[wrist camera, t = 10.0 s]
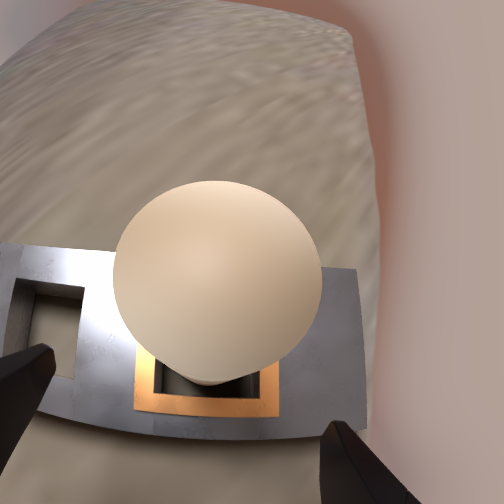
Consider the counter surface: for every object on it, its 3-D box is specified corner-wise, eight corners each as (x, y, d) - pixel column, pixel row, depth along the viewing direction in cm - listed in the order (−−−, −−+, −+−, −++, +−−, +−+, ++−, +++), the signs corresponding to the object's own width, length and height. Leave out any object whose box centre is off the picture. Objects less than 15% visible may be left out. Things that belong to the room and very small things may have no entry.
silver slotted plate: (337, 285, 22) (358, 267, 19) (344, 425, 17) (369, 428, 14) (-13, 256, 18) (-34, 237, 15) (-34, 376, 13) (-61, 369, 10)
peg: (234, 390, 17) (314, 390, 5) (169, 379, 17) (88, 349, 5) (243, 329, 19) (323, 201, 7) (181, 317, 19) (146, 168, 6)
